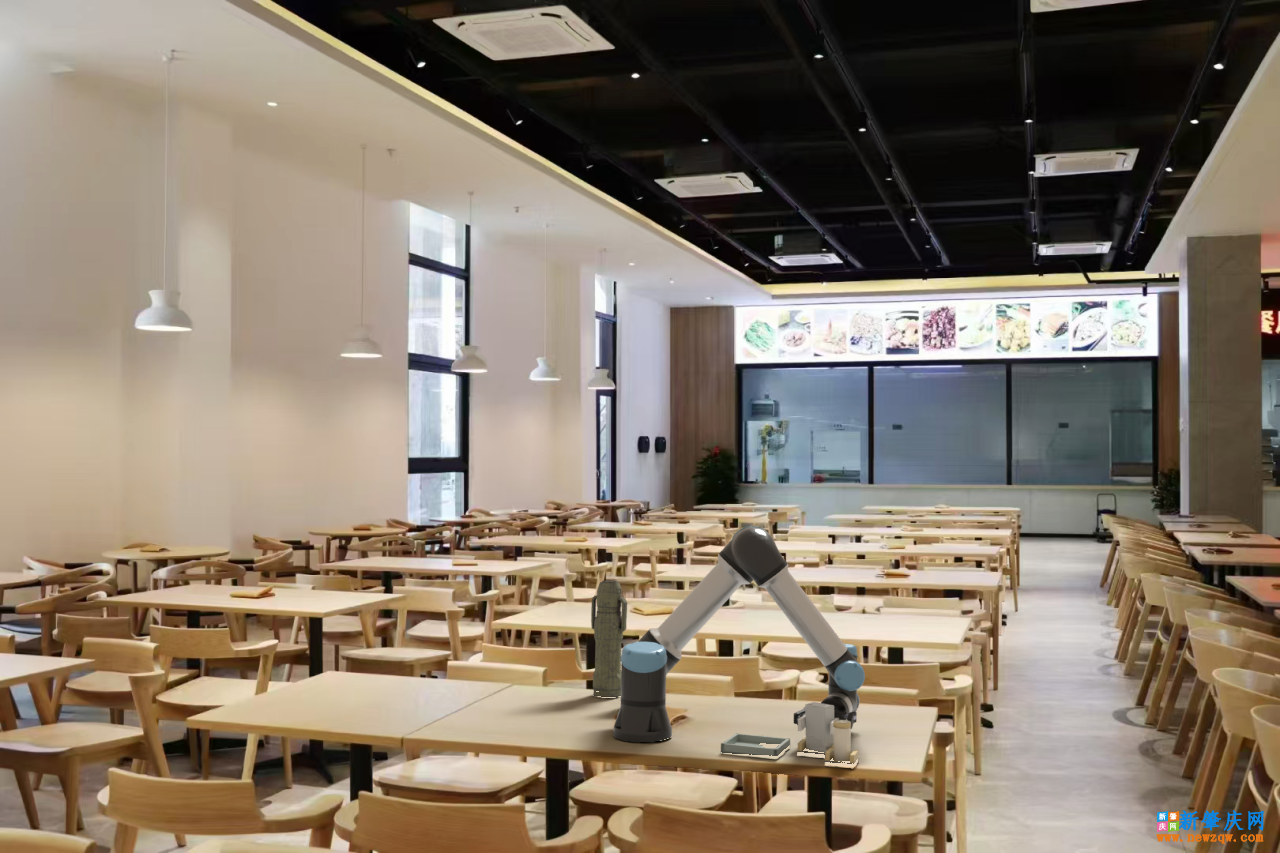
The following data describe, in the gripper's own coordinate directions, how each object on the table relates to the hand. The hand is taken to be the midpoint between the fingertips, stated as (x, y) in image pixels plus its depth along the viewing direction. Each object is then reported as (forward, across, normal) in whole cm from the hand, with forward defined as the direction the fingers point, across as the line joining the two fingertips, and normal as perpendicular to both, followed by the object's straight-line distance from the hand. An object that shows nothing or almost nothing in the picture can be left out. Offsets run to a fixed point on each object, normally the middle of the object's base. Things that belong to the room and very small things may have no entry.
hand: (815, 727), depth 277 cm
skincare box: (-5, 0, -8) cm, 9 cm away
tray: (-1, +15, -8) cm, 17 cm away
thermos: (-52, +76, -8) cm, 92 cm away
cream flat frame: (-1, -3, -7) cm, 8 cm away
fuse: (+3, -7, -8) cm, 11 cm away
